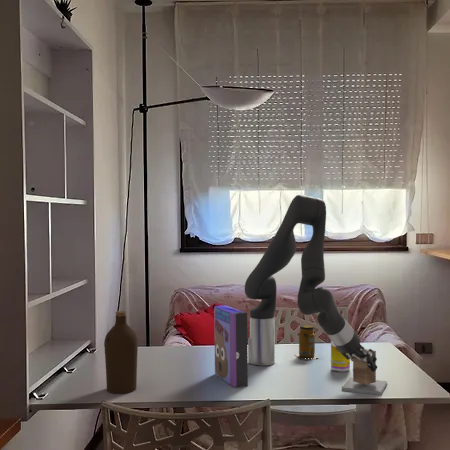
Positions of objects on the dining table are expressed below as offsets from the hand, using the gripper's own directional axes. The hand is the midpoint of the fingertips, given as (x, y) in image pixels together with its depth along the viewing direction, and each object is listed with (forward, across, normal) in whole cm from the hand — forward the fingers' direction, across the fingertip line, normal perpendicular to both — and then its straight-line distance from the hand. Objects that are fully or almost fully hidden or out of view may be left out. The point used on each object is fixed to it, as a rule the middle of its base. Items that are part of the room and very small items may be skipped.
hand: (368, 367), depth 184 cm
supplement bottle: (+10, +19, -1) cm, 22 cm away
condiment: (+12, +40, -3) cm, 42 cm away
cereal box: (-17, +33, +26) cm, 46 cm away
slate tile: (+3, 0, +6) cm, 6 cm away
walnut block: (+2, 0, +4) cm, 5 cm away
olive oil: (-41, +46, +50) cm, 80 cm away
